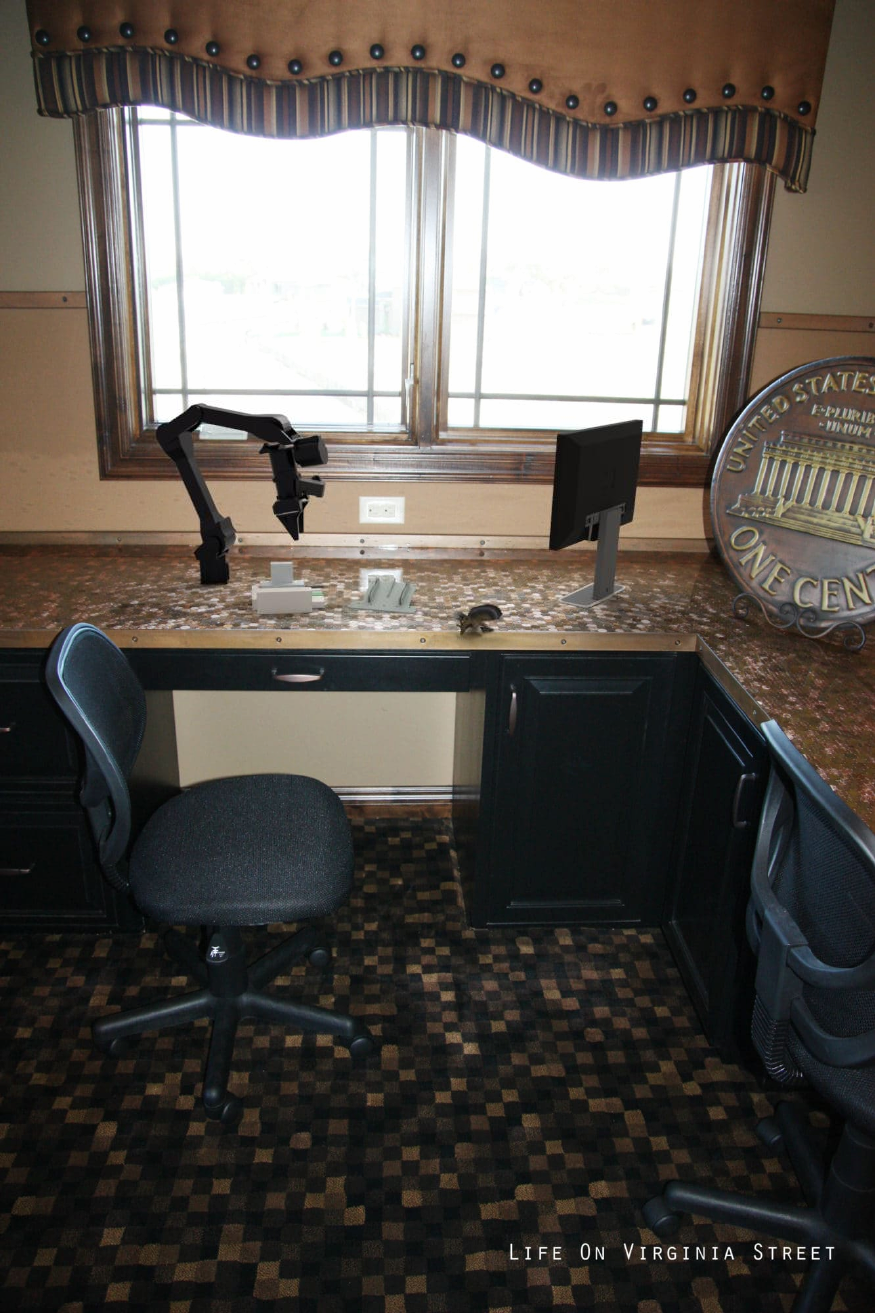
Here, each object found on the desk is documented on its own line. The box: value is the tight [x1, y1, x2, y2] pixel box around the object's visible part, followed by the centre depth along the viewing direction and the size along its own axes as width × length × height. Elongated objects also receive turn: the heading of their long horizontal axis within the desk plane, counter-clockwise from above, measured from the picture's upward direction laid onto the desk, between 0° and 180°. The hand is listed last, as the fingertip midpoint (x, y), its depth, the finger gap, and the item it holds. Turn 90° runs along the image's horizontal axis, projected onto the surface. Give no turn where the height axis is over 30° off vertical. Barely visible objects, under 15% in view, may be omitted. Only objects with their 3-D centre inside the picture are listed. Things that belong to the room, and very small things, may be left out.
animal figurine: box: [453, 603, 504, 637], centre depth 193 cm, size 8×7×9 cm
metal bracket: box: [349, 577, 418, 615], centre depth 211 cm, size 14×6×15 cm
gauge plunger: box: [259, 561, 325, 589], centre depth 212 cm, size 14×4×8 cm, turn 101°
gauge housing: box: [251, 584, 326, 615], centre depth 208 cm, size 16×14×5 cm
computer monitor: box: [548, 418, 644, 609], centre depth 215 cm, size 41×8×40 cm, turn 145°
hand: (299, 536), depth 216 cm, fingers open, 9 cm apart
